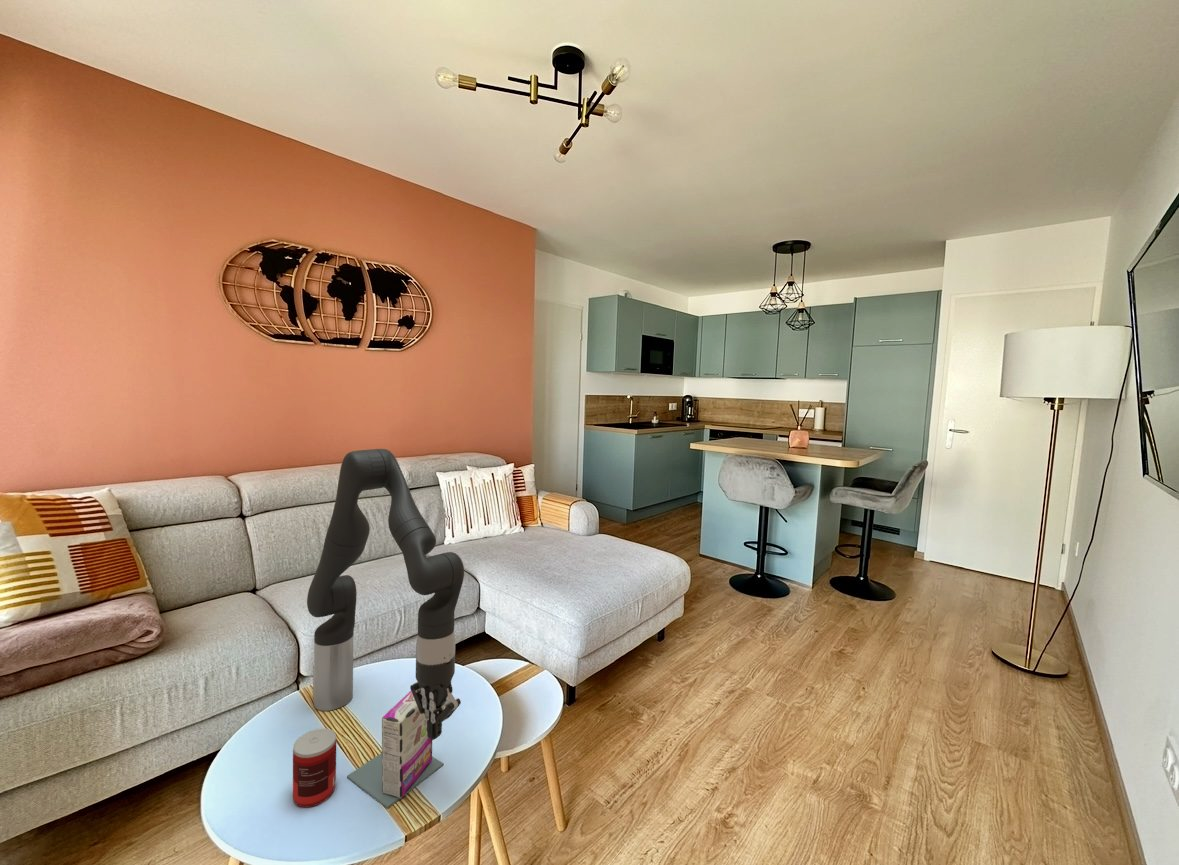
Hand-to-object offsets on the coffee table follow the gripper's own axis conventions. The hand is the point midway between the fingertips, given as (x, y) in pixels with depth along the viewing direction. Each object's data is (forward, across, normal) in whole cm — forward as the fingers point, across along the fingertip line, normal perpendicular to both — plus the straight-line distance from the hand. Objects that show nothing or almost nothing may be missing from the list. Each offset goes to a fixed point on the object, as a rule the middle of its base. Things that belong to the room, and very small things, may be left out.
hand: (434, 736), depth 96 cm
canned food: (+13, -21, -13) cm, 27 cm away
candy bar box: (+12, -8, 0) cm, 15 cm away
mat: (+13, -12, 0) cm, 18 cm away
